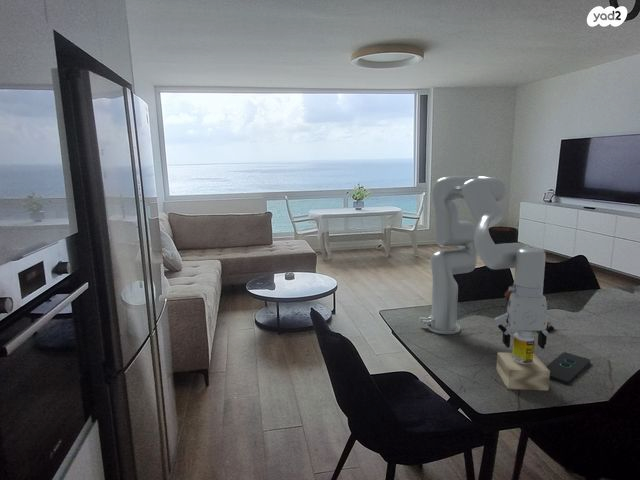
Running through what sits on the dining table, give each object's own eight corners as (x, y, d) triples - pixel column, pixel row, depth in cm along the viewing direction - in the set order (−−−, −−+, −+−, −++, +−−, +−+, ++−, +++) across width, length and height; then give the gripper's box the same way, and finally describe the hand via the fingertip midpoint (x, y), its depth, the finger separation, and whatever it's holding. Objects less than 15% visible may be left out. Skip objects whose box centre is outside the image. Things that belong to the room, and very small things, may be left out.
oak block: (508, 388, 117) (509, 369, 116) (496, 370, 128) (497, 352, 127) (548, 390, 116) (550, 371, 115) (533, 371, 127) (534, 353, 126)
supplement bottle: (526, 367, 117) (528, 334, 116) (508, 359, 122) (510, 327, 120) (536, 362, 120) (539, 329, 119) (518, 355, 125) (521, 323, 123)
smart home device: (591, 359, 131) (568, 381, 118) (591, 364, 131) (568, 387, 119) (563, 351, 137) (538, 371, 125) (563, 355, 138) (538, 376, 125)
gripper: (500, 294, 114) (497, 350, 118) (566, 295, 112) (560, 353, 116) (492, 286, 122) (489, 340, 125) (553, 287, 120) (549, 341, 123)
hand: (523, 346), depth 120 cm, fingers open, 9 cm apart
